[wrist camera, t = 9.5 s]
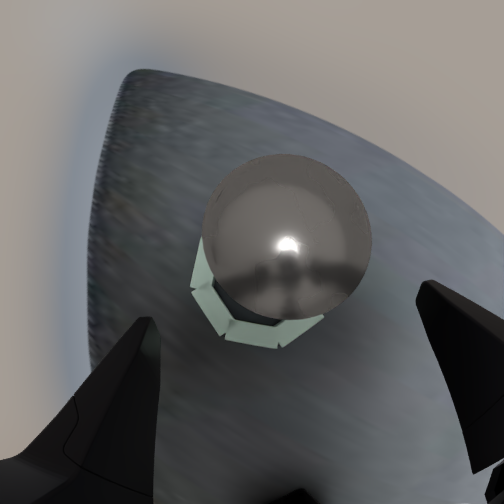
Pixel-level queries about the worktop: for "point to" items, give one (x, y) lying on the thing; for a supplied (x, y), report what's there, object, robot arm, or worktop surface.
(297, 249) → the glass jar
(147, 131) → the worktop surface
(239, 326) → the collar ring
